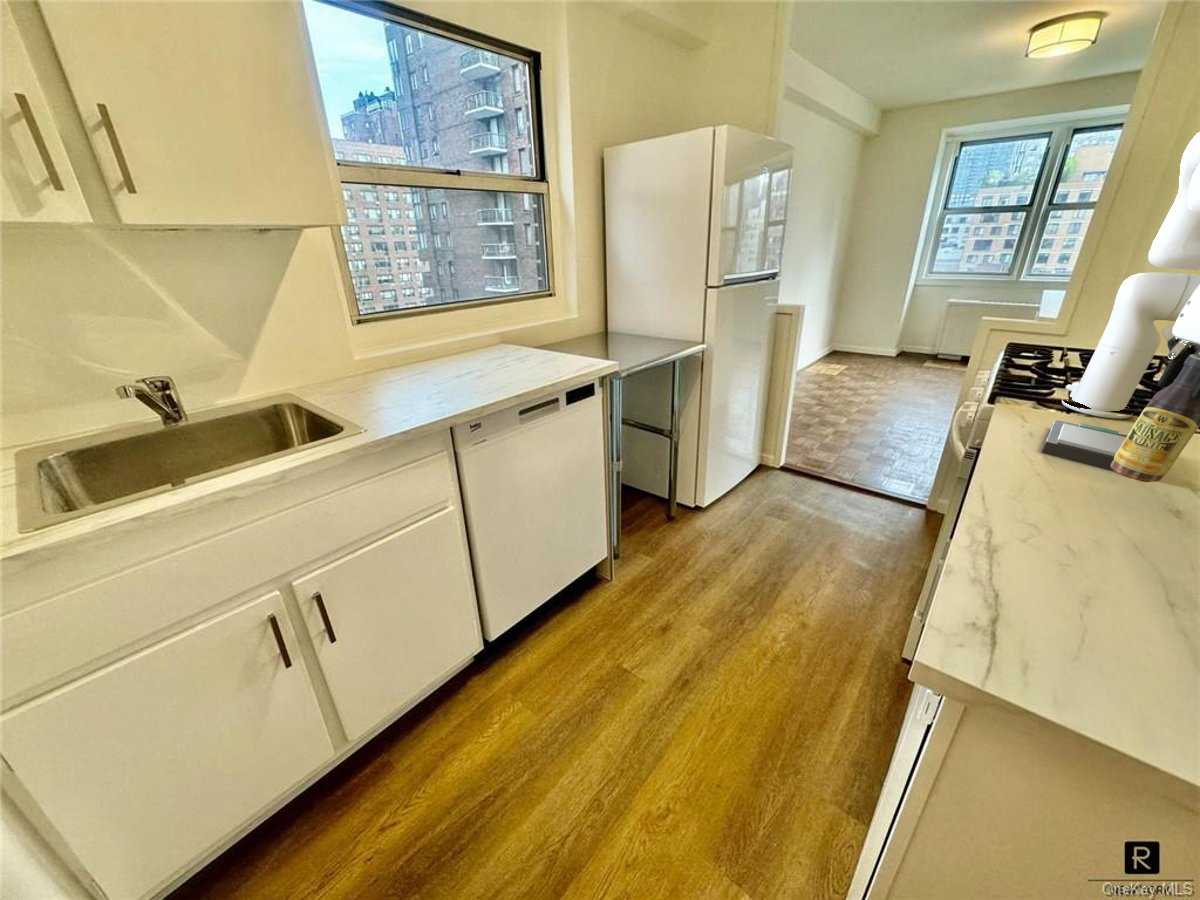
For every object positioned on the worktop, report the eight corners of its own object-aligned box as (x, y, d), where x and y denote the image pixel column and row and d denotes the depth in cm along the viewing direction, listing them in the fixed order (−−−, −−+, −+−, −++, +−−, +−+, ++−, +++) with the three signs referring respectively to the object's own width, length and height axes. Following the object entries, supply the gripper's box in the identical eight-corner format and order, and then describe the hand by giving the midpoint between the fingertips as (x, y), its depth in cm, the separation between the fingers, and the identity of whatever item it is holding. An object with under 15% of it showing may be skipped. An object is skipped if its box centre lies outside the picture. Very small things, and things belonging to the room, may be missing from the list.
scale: (1050, 429, 107) (1056, 416, 106) (1138, 449, 99) (1146, 435, 97) (1041, 452, 97) (1048, 438, 96) (1138, 477, 88) (1148, 462, 87)
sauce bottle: (1100, 469, 81) (1163, 353, 71) (1120, 462, 83) (1184, 348, 74) (1152, 488, 75) (1227, 365, 66) (1172, 480, 77) (1248, 360, 68)
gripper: (1382, 271, 56) (1279, 415, 64) (1226, 254, 71) (1159, 373, 79) (1312, 270, 56) (1218, 414, 65) (1171, 254, 71) (1110, 373, 80)
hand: (1186, 390), depth 72 cm, fingers closed on sauce bottle, 4 cm apart
